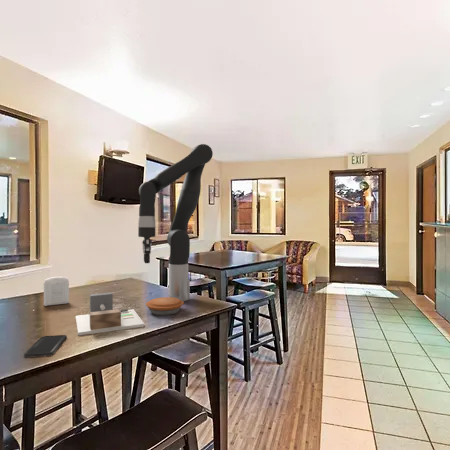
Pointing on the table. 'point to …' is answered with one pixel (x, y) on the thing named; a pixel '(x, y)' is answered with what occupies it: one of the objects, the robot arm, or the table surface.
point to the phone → (45, 346)
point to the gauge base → (127, 322)
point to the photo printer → (56, 291)
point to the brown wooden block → (105, 319)
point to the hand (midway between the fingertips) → (146, 262)
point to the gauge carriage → (102, 302)
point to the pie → (164, 305)
